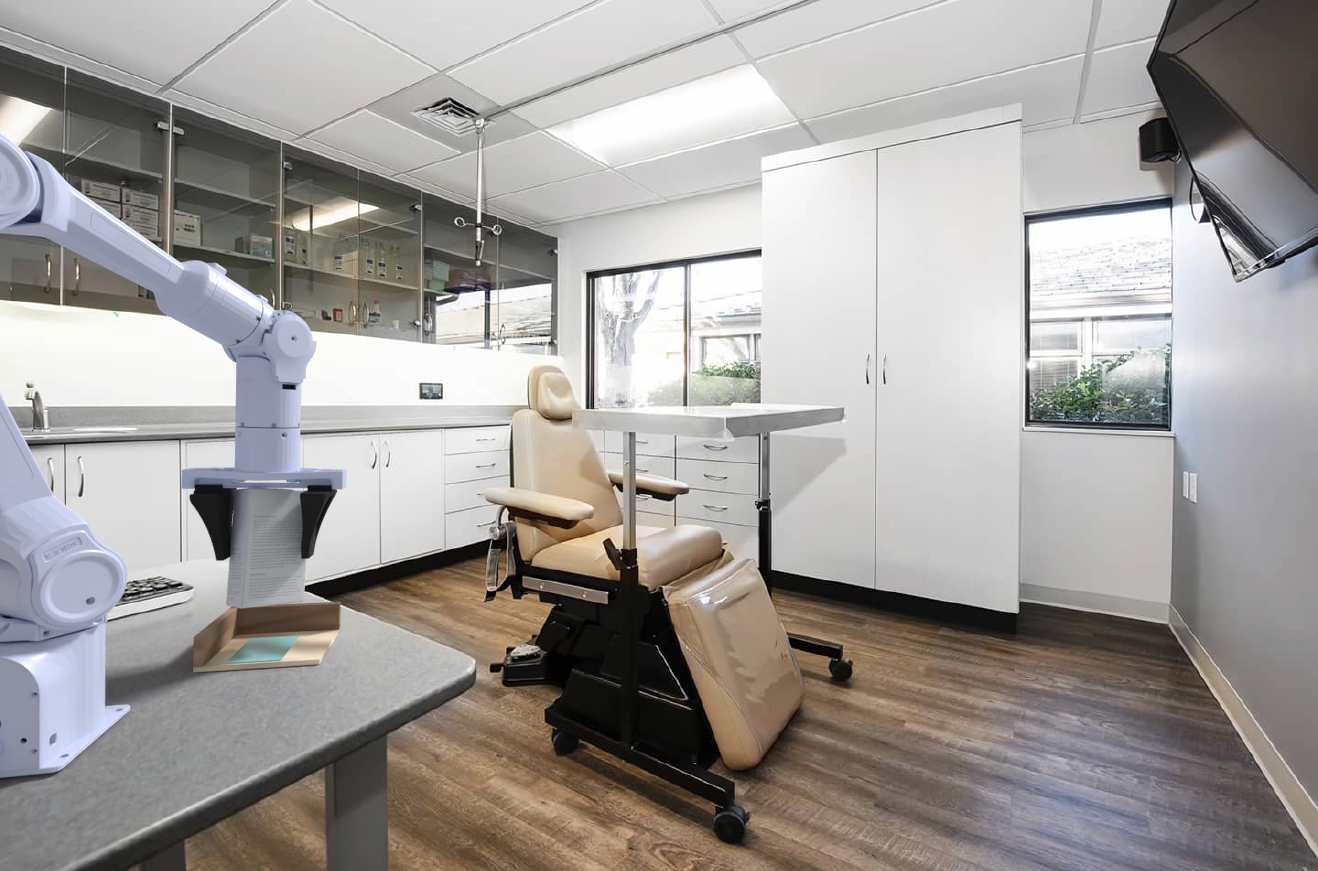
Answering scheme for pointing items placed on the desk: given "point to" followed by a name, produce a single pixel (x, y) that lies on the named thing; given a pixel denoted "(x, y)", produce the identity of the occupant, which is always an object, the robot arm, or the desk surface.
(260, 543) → the skincare box
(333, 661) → the desk surface
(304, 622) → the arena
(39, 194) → the robot arm
